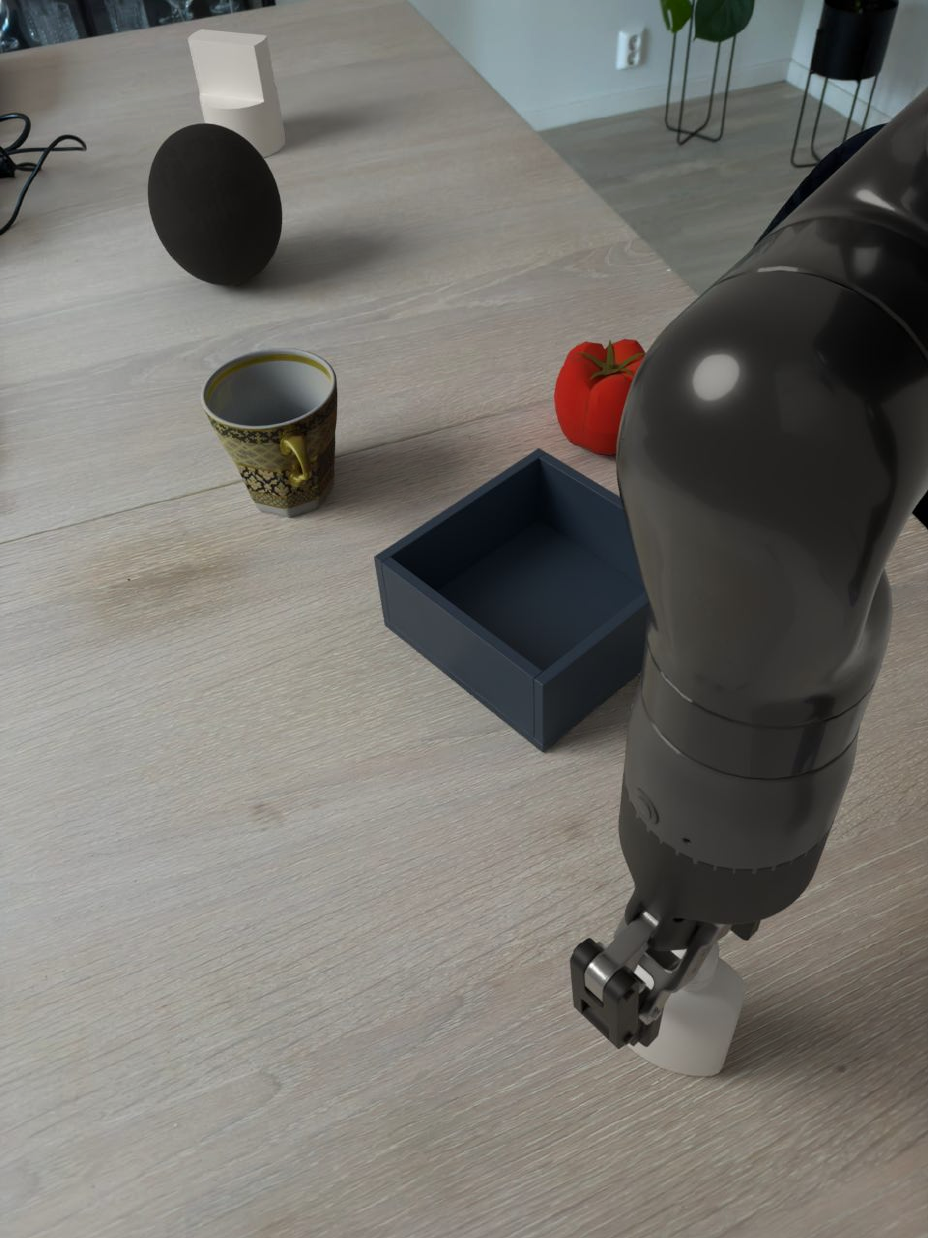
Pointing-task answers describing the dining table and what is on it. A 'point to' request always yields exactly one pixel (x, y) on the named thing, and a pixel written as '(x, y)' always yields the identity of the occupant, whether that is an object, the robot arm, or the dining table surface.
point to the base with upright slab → (238, 86)
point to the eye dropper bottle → (697, 1019)
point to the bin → (523, 596)
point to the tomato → (596, 392)
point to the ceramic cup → (277, 425)
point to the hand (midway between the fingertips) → (685, 973)
